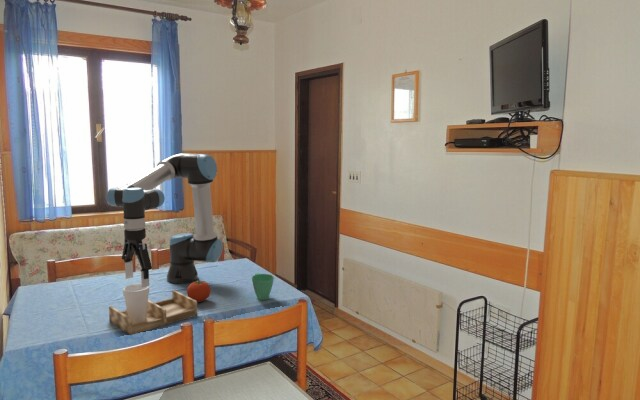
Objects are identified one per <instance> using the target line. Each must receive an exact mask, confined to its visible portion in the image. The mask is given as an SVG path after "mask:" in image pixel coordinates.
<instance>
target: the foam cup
mask: <svg viewBox="0 0 640 400" xmlns="http://www.w3.org/2000/svg"><path fill="white" fill-rule="evenodd" d="M122 292H123V293H122V295H123V298H124V302H125V303H124V304H125V306H126V307H125V308H126V310H127V313H128V317H130V318H131V319H132V323H138V322H142V321H145V320H146V317H147V306H148V300H149V296H150V285H149V286H147V287H143V288H142V285H141V283H134V284H129V285H126V286H124V287H123V290H122Z"/></svg>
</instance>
